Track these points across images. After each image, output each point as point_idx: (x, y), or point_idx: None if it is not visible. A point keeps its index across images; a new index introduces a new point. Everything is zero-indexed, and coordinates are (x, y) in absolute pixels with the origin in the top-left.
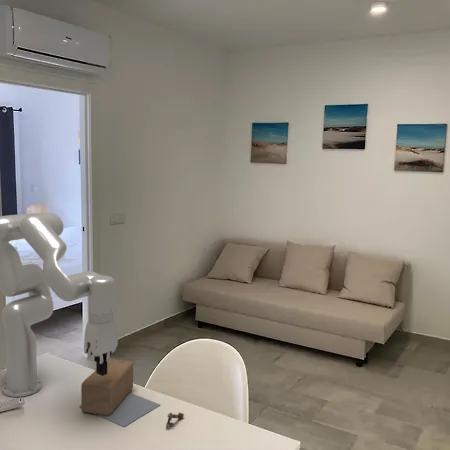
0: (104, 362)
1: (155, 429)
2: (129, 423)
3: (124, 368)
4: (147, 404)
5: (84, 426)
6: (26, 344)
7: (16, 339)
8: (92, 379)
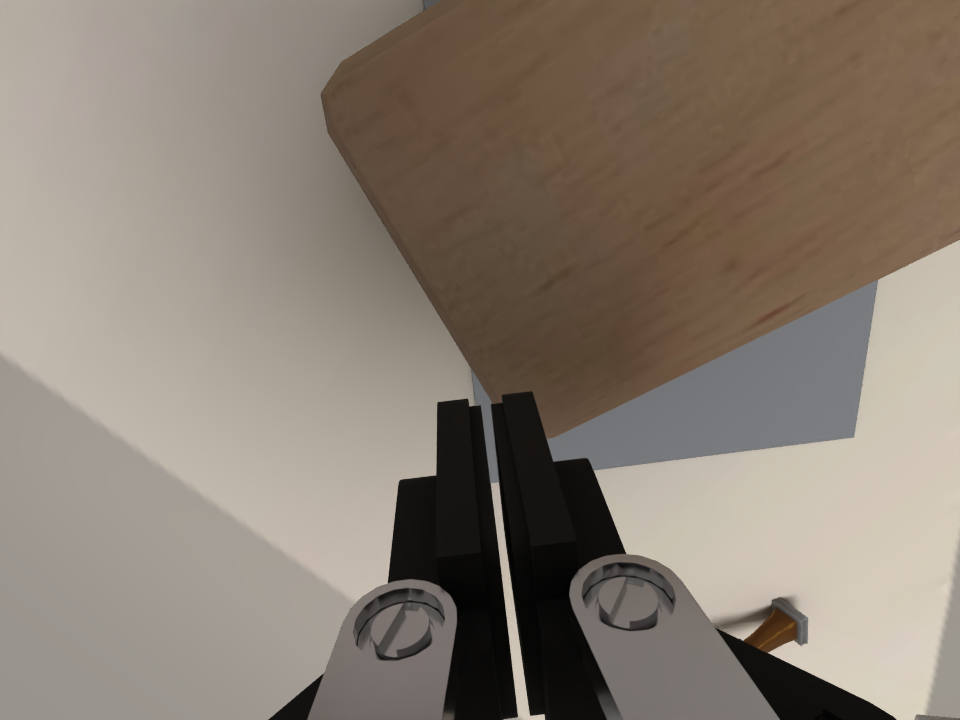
0: (538, 697)
1: None
2: None
3: None
4: (805, 377)
5: (283, 288)
6: None
7: None
8: (499, 134)
